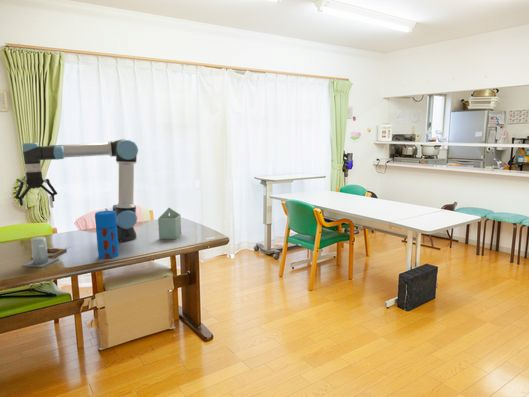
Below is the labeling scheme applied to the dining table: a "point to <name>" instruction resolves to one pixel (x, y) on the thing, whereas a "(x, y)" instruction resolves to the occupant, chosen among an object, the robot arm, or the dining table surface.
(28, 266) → the coaster
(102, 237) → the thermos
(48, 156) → the robot arm
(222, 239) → the dining table surface
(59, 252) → the frame
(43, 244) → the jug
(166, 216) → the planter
